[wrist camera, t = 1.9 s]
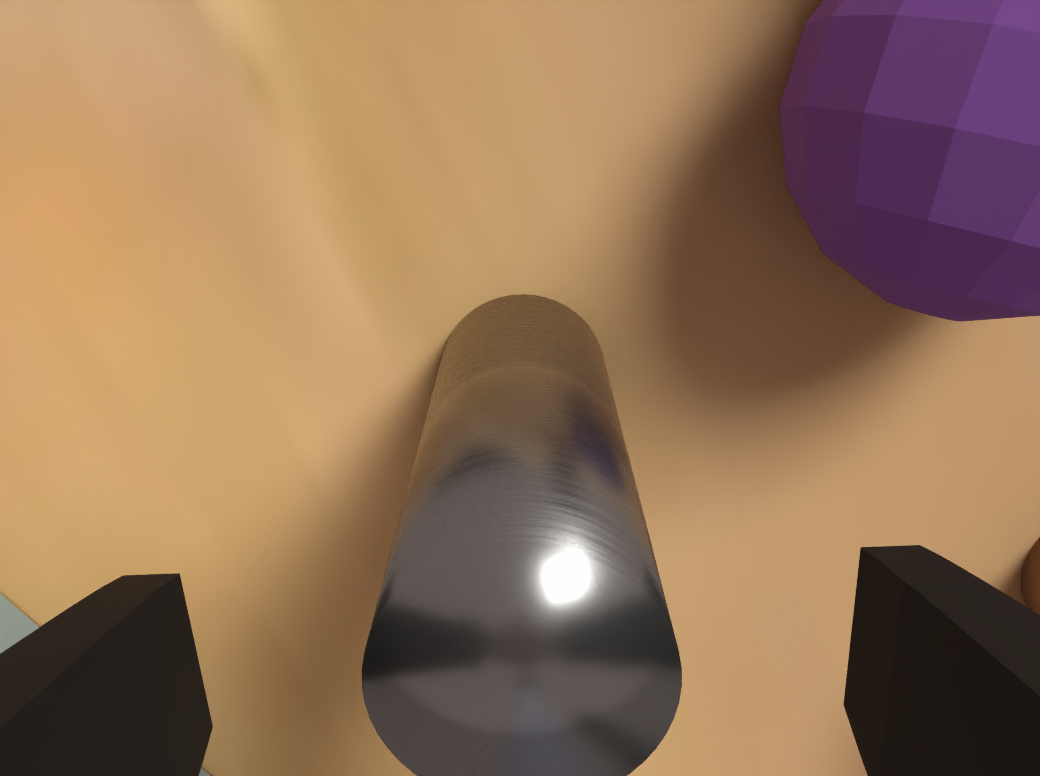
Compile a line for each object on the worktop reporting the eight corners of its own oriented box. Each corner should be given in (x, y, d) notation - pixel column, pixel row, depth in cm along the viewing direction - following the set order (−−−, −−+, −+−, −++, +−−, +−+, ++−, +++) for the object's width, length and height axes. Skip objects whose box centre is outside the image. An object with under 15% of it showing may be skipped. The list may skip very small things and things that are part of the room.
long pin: (636, 388, 17) (743, 709, 9) (508, 477, 18) (495, 851, 10) (538, 261, 16) (552, 485, 8) (406, 360, 17) (294, 660, 9)
